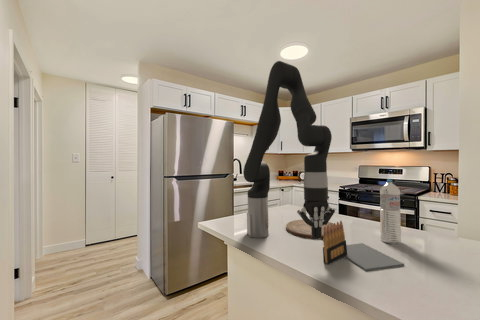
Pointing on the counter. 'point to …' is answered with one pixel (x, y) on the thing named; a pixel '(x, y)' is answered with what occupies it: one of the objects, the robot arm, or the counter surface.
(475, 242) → the counter surface
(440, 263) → the counter surface
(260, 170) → the robot arm
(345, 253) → the ammunition clip
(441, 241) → the counter surface
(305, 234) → the trivet
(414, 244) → the counter surface
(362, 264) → the slate mat
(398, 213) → the water bottle
